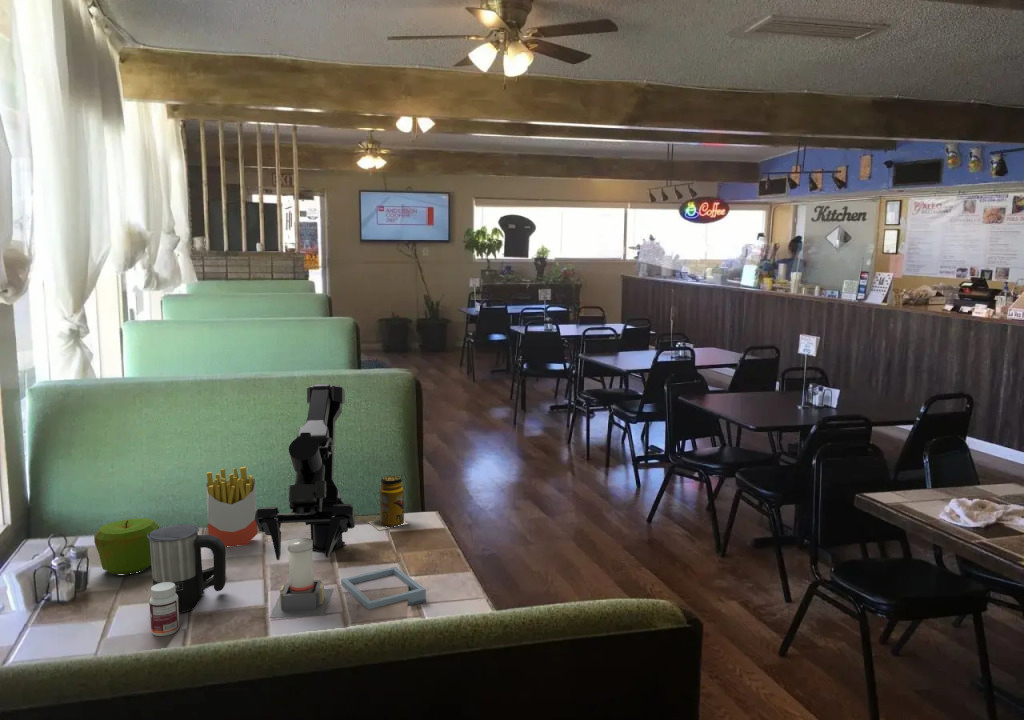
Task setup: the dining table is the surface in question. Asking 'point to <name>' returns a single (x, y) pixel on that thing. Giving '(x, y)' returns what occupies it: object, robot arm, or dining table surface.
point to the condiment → (390, 503)
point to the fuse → (301, 565)
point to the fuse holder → (302, 602)
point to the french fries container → (232, 507)
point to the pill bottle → (164, 609)
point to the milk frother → (186, 562)
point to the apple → (125, 545)
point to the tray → (413, 595)
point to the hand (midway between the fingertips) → (302, 558)
